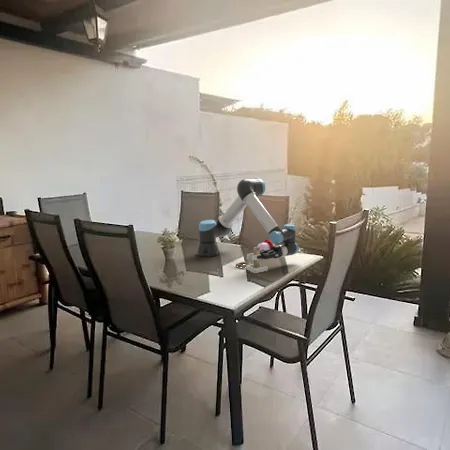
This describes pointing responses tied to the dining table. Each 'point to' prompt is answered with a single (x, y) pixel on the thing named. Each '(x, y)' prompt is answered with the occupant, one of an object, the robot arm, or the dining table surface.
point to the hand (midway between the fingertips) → (249, 257)
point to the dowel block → (242, 264)
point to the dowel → (257, 262)
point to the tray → (251, 267)
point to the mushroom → (266, 245)
